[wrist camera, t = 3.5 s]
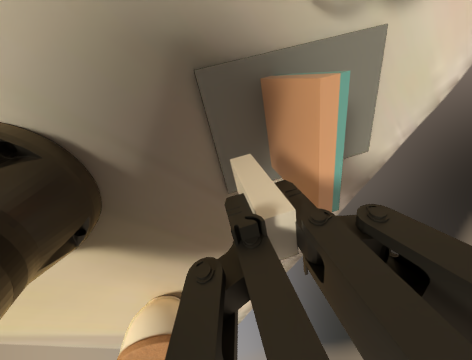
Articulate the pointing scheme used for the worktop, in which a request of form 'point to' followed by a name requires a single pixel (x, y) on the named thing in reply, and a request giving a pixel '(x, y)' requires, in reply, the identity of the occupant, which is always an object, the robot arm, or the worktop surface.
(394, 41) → the worktop surface
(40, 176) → the robot arm
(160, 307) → the lidded jar
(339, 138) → the tile
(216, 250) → the worktop surface
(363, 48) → the mat
